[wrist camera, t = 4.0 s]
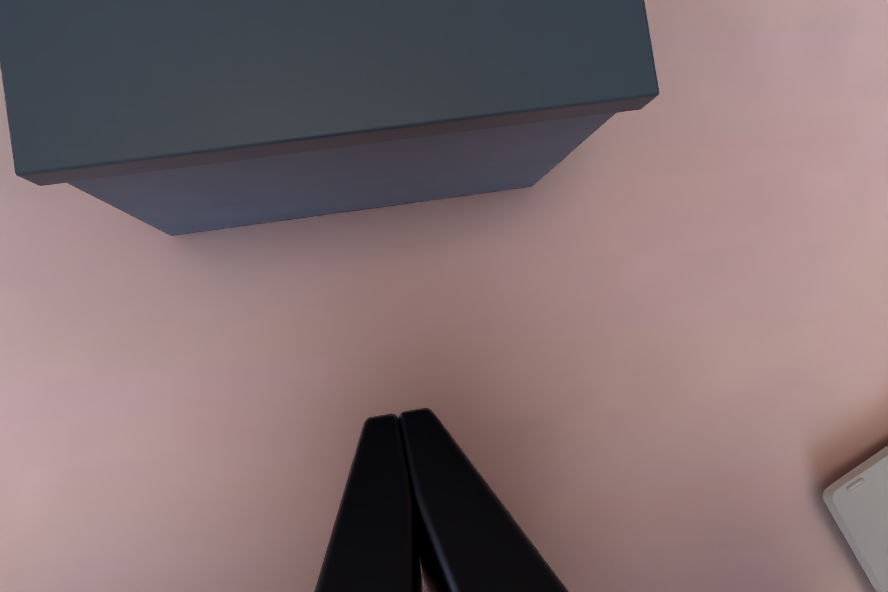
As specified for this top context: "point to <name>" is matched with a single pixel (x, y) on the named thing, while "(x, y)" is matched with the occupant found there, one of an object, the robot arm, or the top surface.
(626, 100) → the storage box
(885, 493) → the laptop
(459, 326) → the top surface
